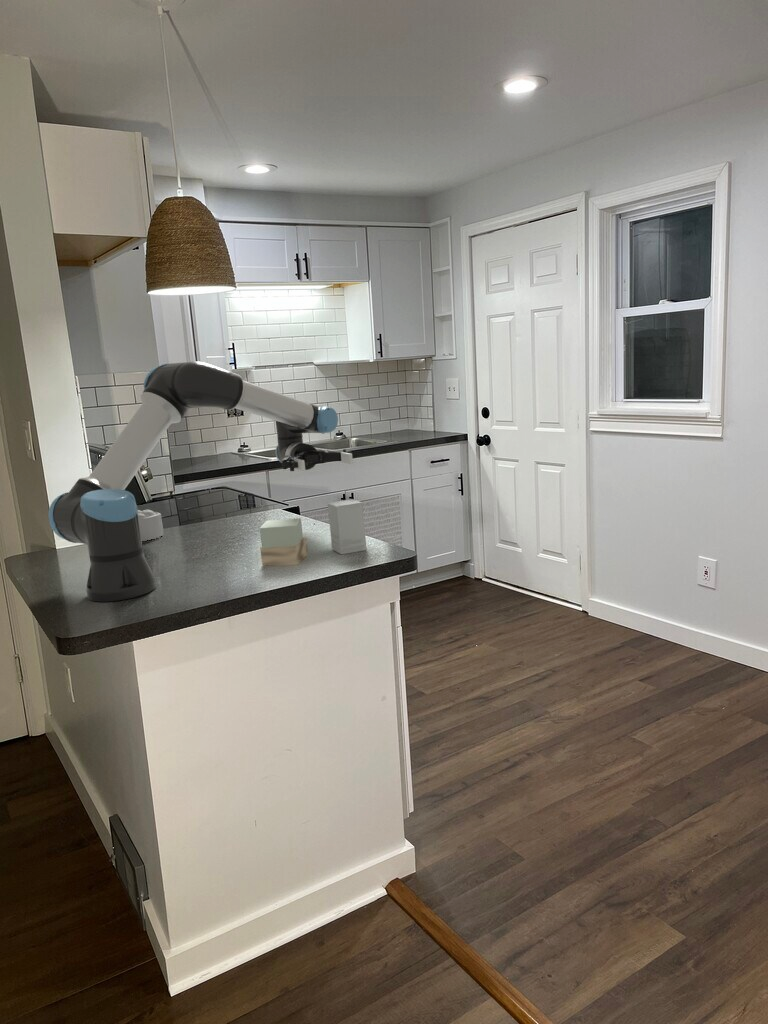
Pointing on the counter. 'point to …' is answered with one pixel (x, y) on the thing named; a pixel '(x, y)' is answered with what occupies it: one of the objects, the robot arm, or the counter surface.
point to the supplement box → (347, 526)
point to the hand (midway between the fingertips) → (327, 462)
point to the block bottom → (284, 554)
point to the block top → (281, 533)
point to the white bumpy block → (150, 524)
